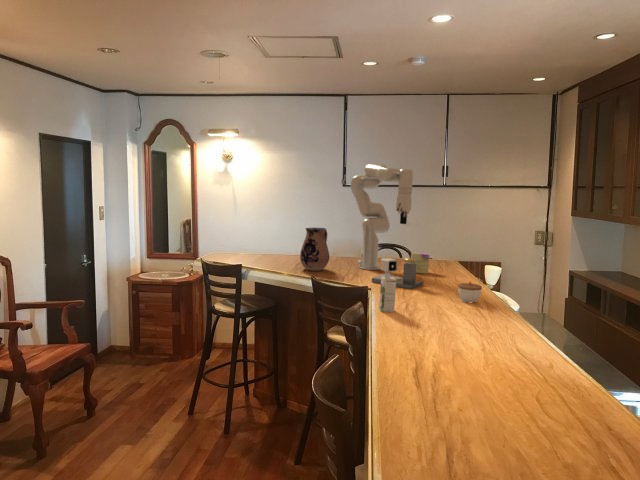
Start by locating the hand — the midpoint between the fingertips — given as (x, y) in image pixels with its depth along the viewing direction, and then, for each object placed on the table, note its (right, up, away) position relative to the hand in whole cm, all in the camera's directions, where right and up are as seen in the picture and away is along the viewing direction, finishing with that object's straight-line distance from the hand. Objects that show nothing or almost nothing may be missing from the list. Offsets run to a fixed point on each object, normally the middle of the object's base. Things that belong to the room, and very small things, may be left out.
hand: (403, 223), depth 294 cm
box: (+13, -29, +23) cm, 40 cm away
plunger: (0, -31, -17) cm, 35 cm away
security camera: (-10, -30, -9) cm, 33 cm away
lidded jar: (+24, -39, -47) cm, 65 cm away
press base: (-5, -33, -13) cm, 36 cm away
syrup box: (-18, -40, -69) cm, 82 cm away
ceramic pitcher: (-50, -27, +21) cm, 60 cm away
